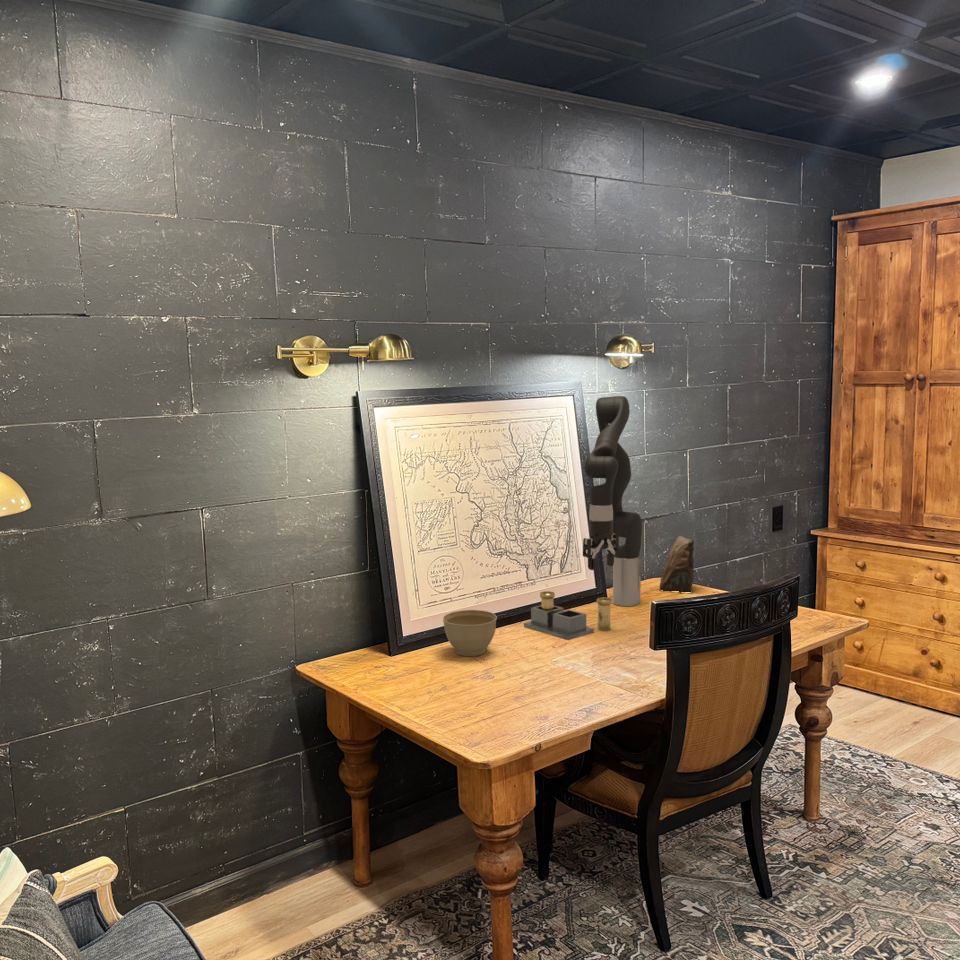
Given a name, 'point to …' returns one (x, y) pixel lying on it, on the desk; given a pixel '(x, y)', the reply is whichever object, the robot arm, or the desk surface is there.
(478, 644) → the planter bowl
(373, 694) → the desk surface
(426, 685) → the desk surface
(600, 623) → the brass stub
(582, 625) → the grey double holder
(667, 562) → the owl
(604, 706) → the desk surface
